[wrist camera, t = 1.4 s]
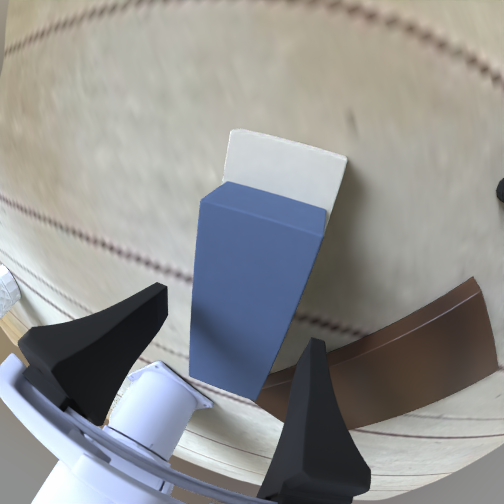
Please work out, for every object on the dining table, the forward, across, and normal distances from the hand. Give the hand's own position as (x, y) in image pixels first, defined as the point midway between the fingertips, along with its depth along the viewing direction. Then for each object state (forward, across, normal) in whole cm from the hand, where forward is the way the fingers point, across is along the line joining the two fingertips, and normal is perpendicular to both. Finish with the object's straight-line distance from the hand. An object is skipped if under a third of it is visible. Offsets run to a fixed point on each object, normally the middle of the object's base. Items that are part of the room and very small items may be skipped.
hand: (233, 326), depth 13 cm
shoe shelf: (+5, -11, +7) cm, 14 cm away
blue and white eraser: (+5, 0, 0) cm, 5 cm away
